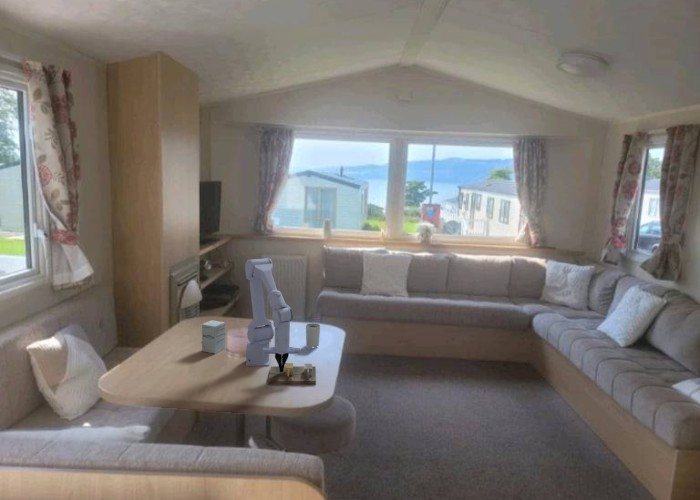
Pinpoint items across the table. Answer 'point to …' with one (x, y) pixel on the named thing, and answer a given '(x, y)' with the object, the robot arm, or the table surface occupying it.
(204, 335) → the supplement box
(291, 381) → the gauge board
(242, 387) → the table surface
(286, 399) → the table surface
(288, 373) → the brass leg
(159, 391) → the table surface
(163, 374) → the table surface
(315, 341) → the drinking glass
